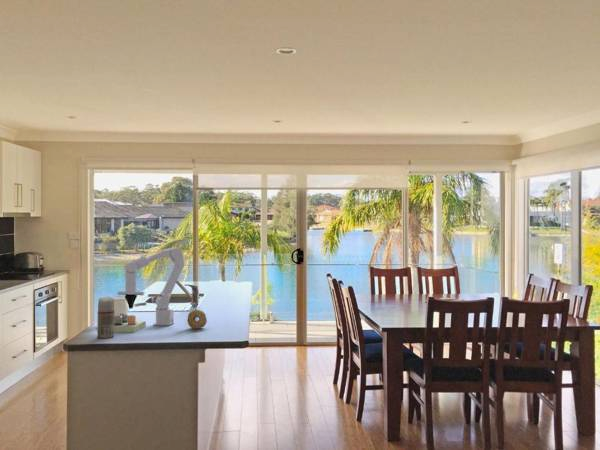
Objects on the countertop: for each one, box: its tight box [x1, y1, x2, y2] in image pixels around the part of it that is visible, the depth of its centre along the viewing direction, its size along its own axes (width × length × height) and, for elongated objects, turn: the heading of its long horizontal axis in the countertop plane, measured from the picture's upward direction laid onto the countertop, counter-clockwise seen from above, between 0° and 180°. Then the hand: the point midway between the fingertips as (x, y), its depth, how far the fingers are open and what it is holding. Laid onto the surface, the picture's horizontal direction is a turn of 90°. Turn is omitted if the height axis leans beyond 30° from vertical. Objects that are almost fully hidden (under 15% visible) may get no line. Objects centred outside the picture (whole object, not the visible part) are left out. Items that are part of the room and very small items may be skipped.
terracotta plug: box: [128, 314, 137, 325], centre depth 292 cm, size 4×4×4 cm
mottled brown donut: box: [187, 309, 208, 330], centre depth 295 cm, size 10×4×10 cm, turn 87°
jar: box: [110, 295, 129, 316], centre depth 310 cm, size 11×10×15 cm
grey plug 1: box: [114, 316, 122, 325], centre depth 291 cm, size 4×4×4 cm
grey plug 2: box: [120, 312, 129, 323], centre depth 299 cm, size 4×4×4 cm
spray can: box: [96, 296, 115, 339], centre depth 275 cm, size 8×8×20 cm
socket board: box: [114, 320, 147, 333], centre depth 294 cm, size 15×15×3 cm
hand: (131, 308), depth 300 cm, fingers closed
